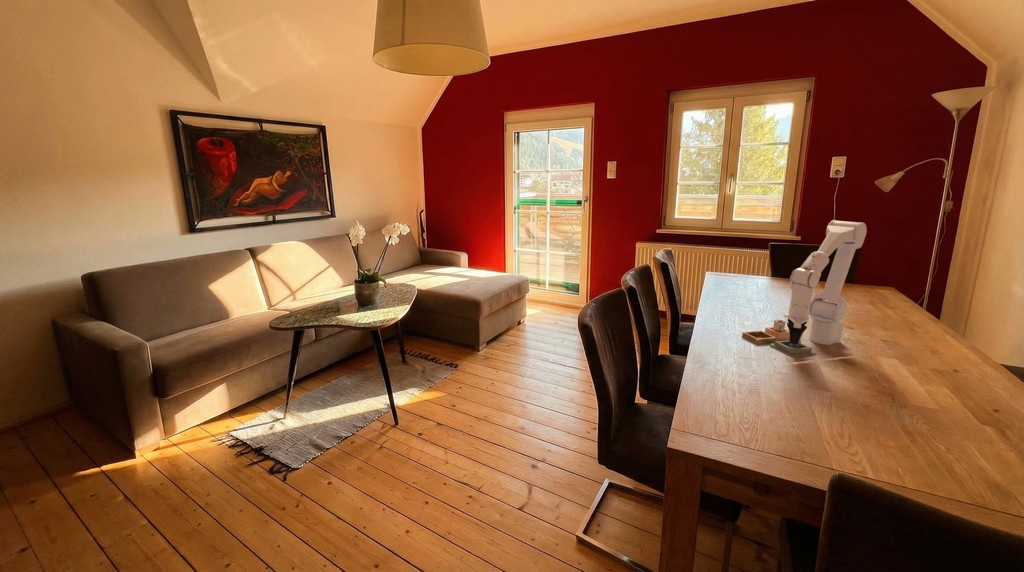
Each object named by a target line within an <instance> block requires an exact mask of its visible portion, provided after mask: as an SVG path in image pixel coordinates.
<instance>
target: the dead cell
mask: <svg viewBox="0 0 1024 572" xmlns="http://www.w3.org/2000/svg"><path fill="white" fill-rule="evenodd" d="M786 323H787V322H786V321H785V320H782V319H774V321H773V326H772V327H773V330H774V331H776V332H784V329H786V328H785V327H786Z"/></svg>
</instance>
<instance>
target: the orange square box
mask: <svg viewBox="0 0 1024 572" xmlns="http://www.w3.org/2000/svg"><path fill="white" fill-rule="evenodd" d="M764 332H765V333H768V334H770V335H772V336H774V337H776V338H777V340H776V341H785V340H789V336H790V333H789V329H786V328H785V329H784V332H776V331H774V330H773V326H769V327H765V330H764Z"/></svg>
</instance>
